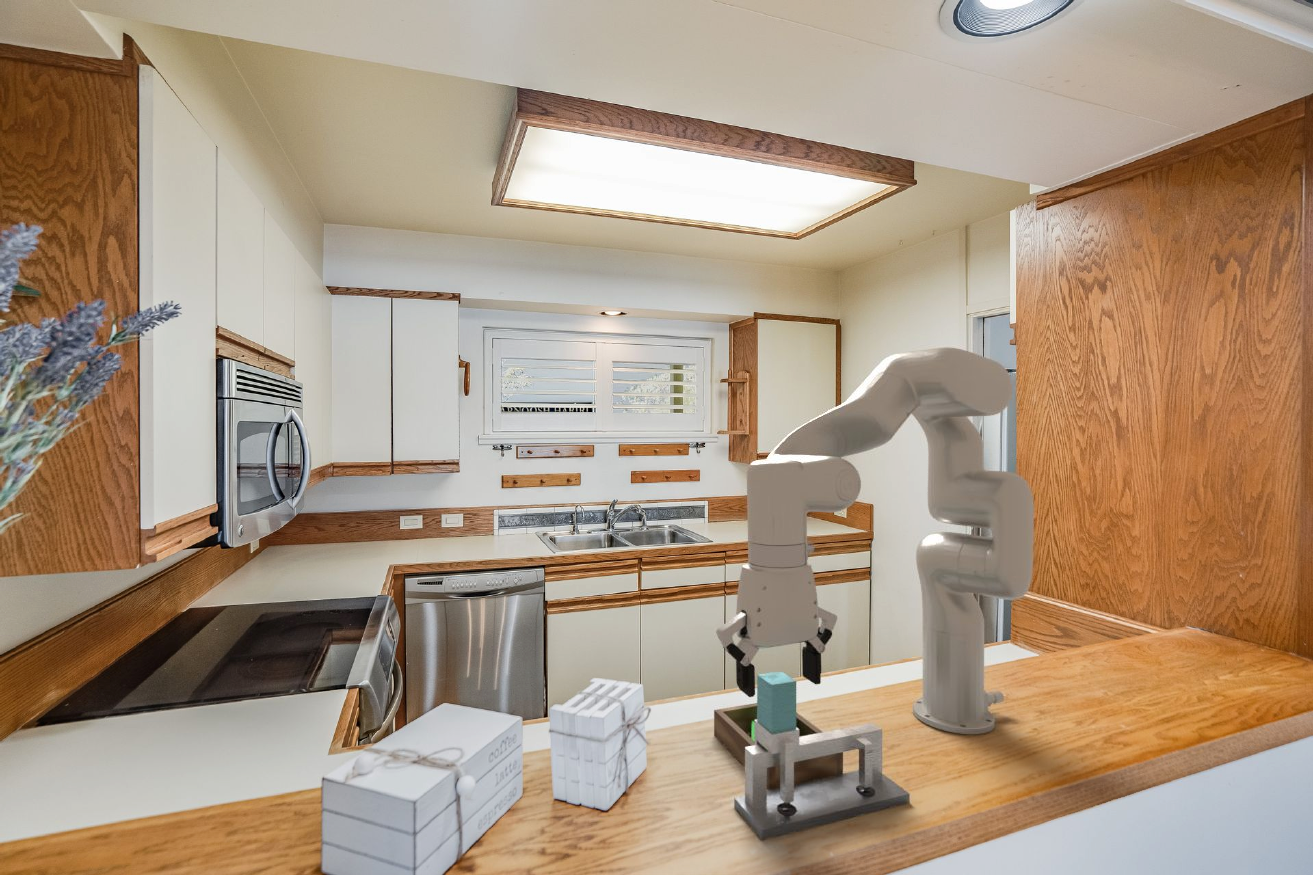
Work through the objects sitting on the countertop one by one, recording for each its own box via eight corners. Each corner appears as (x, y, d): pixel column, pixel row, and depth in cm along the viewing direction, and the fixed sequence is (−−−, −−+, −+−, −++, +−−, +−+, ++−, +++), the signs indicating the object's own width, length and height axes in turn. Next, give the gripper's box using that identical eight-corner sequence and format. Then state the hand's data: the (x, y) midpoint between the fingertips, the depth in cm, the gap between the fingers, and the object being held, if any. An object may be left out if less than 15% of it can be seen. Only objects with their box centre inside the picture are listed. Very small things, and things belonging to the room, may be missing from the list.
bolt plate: (873, 775, 87) (873, 765, 87) (909, 802, 80) (909, 792, 80) (734, 806, 79) (734, 796, 79) (761, 840, 72) (761, 829, 72)
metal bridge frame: (872, 780, 85) (872, 722, 85) (893, 796, 81) (893, 735, 82) (744, 809, 78) (745, 747, 78) (761, 828, 75) (761, 762, 75)
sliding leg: (780, 781, 82) (780, 669, 82) (803, 803, 77) (803, 684, 77) (754, 787, 80) (754, 673, 80) (775, 810, 75) (775, 689, 75)
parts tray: (778, 723, 103) (778, 699, 103) (843, 775, 87) (843, 746, 87) (714, 734, 98) (714, 709, 98) (768, 791, 82) (769, 761, 83)
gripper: (816, 544, 86) (818, 666, 86) (704, 555, 80) (706, 686, 80) (851, 554, 79) (853, 686, 79) (730, 566, 73) (733, 710, 73)
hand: (779, 686), depth 79 cm, fingers open, 9 cm apart
